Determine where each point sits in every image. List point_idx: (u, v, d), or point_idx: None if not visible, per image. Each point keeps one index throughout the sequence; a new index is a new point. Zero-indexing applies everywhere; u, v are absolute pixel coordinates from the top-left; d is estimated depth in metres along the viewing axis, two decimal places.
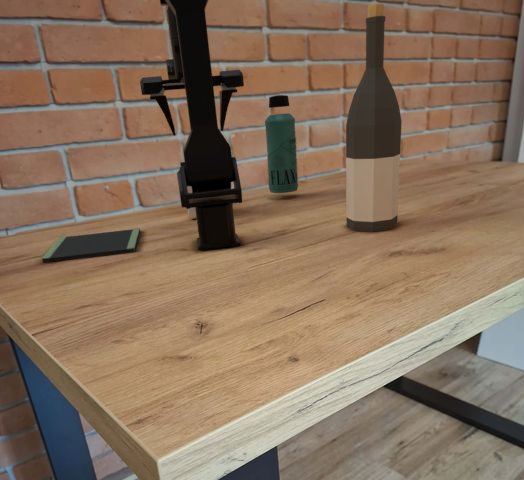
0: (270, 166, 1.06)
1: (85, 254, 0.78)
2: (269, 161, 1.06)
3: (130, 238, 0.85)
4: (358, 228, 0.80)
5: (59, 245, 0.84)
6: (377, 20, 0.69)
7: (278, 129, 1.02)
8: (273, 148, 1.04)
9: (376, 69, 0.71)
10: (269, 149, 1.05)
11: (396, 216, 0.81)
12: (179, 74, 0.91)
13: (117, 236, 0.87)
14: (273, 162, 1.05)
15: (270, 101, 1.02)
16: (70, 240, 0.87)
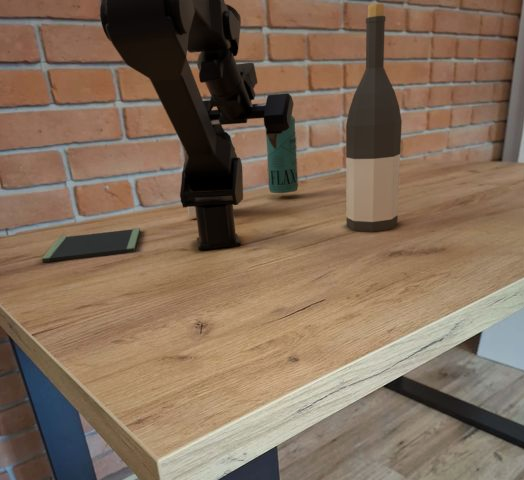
0: (270, 166, 1.06)
1: (85, 254, 0.78)
2: (269, 161, 1.06)
3: (130, 238, 0.85)
4: (358, 228, 0.80)
5: (59, 245, 0.84)
6: (377, 20, 0.69)
7: None
8: (273, 148, 1.04)
9: (376, 69, 0.71)
10: (269, 149, 1.05)
11: (396, 216, 0.81)
12: (220, 122, 0.87)
13: (117, 236, 0.87)
14: (273, 162, 1.05)
15: None
16: (70, 240, 0.87)
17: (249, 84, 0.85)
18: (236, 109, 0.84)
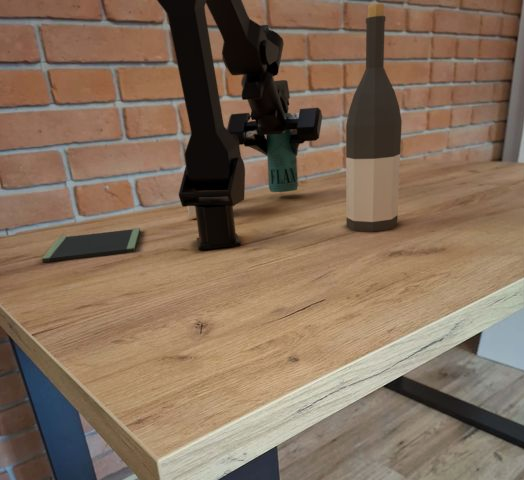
0: (270, 165, 1.07)
1: (85, 254, 0.78)
2: (269, 160, 1.06)
3: (130, 238, 0.85)
4: (358, 228, 0.80)
5: (59, 245, 0.84)
6: (377, 20, 0.69)
7: None
8: (273, 147, 1.04)
9: (376, 69, 0.71)
10: (269, 148, 1.05)
11: (396, 216, 0.81)
12: (258, 133, 0.99)
13: (117, 236, 0.87)
14: (273, 161, 1.05)
15: None
16: (70, 240, 0.87)
17: (284, 99, 0.97)
18: (273, 122, 0.96)
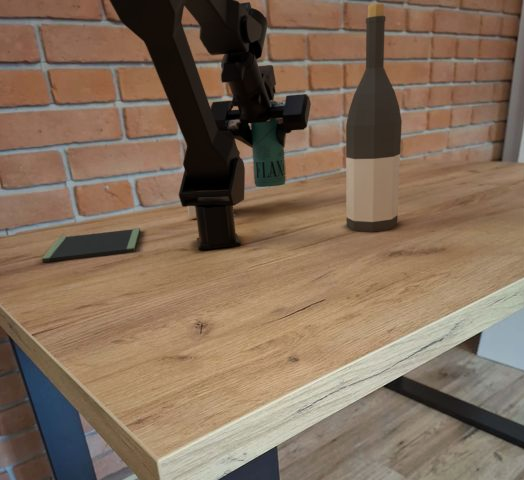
0: (255, 158, 0.99)
1: (85, 254, 0.78)
2: (254, 152, 0.99)
3: (130, 238, 0.85)
4: (358, 228, 0.80)
5: (59, 245, 0.84)
6: (377, 20, 0.69)
7: None
8: (258, 137, 0.96)
9: (376, 69, 0.71)
10: (254, 139, 0.97)
11: (396, 216, 0.81)
12: (241, 121, 0.91)
13: (117, 236, 0.87)
14: (258, 153, 0.98)
15: None
16: (70, 240, 0.87)
17: (269, 85, 0.89)
18: (257, 109, 0.88)
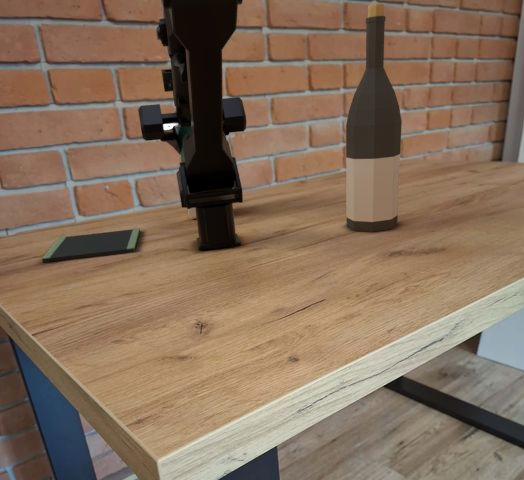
0: None
1: (85, 254, 0.78)
2: None
3: (130, 238, 0.85)
4: (358, 228, 0.80)
5: (59, 245, 0.84)
6: (377, 20, 0.69)
7: None
8: None
9: (376, 69, 0.71)
10: None
11: (396, 216, 0.81)
12: (182, 124, 0.89)
13: (117, 236, 0.87)
14: None
15: None
16: (70, 240, 0.87)
17: None
18: None
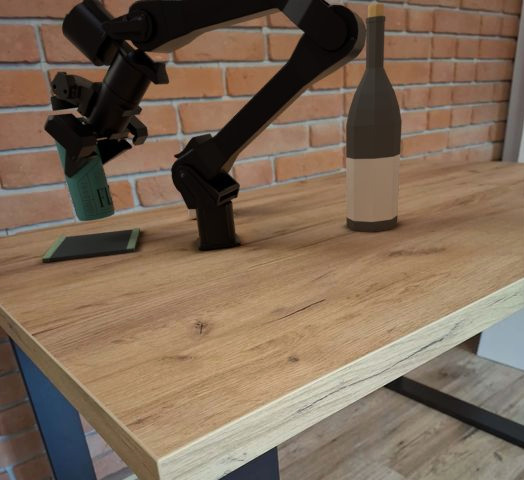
0: (92, 184, 0.80)
1: (85, 254, 0.78)
2: (89, 178, 0.80)
3: (130, 238, 0.85)
4: (358, 228, 0.80)
5: (59, 245, 0.84)
6: (377, 20, 0.69)
7: None
8: (94, 159, 0.79)
9: (376, 69, 0.71)
10: None
11: (396, 216, 0.81)
12: (111, 136, 0.75)
13: (117, 236, 0.87)
14: (97, 178, 0.81)
15: None
16: (70, 240, 0.87)
17: None
18: (129, 121, 0.77)
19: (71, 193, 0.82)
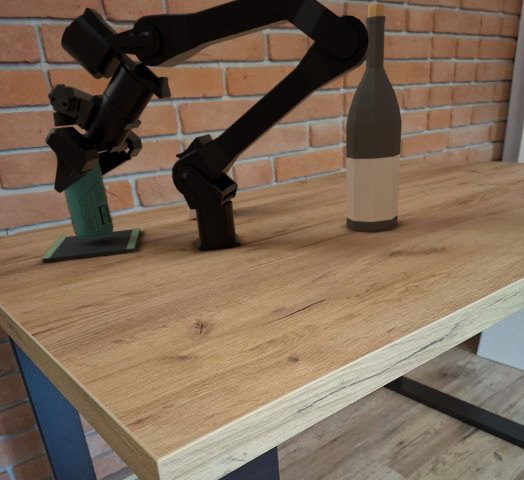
0: (95, 201, 0.80)
1: (85, 254, 0.78)
2: (91, 195, 0.79)
3: (130, 238, 0.85)
4: (358, 228, 0.80)
5: (59, 245, 0.84)
6: (377, 20, 0.69)
7: None
8: (97, 176, 0.79)
9: (376, 69, 0.71)
10: (89, 179, 0.78)
11: (396, 216, 0.81)
12: (112, 149, 0.75)
13: (117, 236, 0.87)
14: (99, 195, 0.80)
15: (70, 116, 0.75)
16: (70, 240, 0.87)
17: None
18: None
19: (71, 209, 0.80)
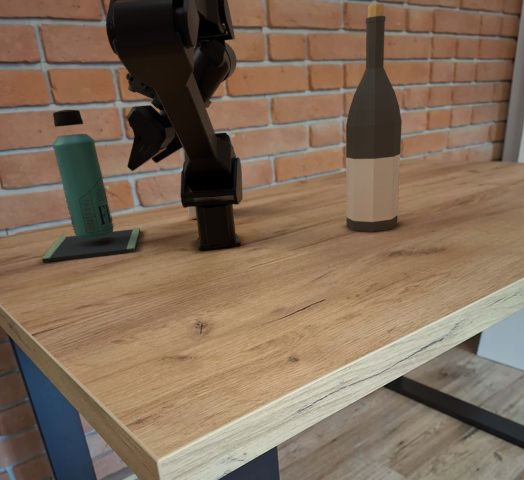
0: (95, 201, 0.80)
1: (85, 254, 0.78)
2: (91, 195, 0.79)
3: (130, 238, 0.85)
4: (358, 228, 0.80)
5: (59, 245, 0.84)
6: (377, 20, 0.69)
7: None
8: (97, 176, 0.79)
9: (376, 69, 0.71)
10: (89, 179, 0.78)
11: (396, 216, 0.81)
12: None
13: (117, 236, 0.87)
14: (99, 195, 0.80)
15: (70, 116, 0.75)
16: (70, 240, 0.87)
17: None
18: None
19: (71, 210, 0.80)
